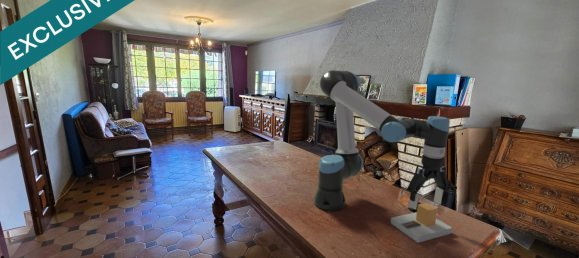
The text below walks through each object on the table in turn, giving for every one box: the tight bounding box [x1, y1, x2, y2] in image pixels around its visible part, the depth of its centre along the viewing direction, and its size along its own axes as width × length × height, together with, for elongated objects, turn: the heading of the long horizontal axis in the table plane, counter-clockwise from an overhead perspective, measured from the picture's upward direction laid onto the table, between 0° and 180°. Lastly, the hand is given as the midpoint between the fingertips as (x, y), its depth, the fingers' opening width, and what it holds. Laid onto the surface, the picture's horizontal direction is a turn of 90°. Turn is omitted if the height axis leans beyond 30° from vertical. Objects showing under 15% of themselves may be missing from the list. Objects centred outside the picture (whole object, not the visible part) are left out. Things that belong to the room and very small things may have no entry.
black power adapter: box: [407, 201, 423, 213], centre depth 115 cm, size 12×7×5 cm, turn 21°
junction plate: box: [390, 212, 453, 244], centre depth 102 cm, size 18×14×8 cm
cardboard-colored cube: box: [416, 202, 438, 227], centre depth 102 cm, size 5×5×7 cm
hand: (425, 205), depth 102 cm, fingers open, 13 cm apart
